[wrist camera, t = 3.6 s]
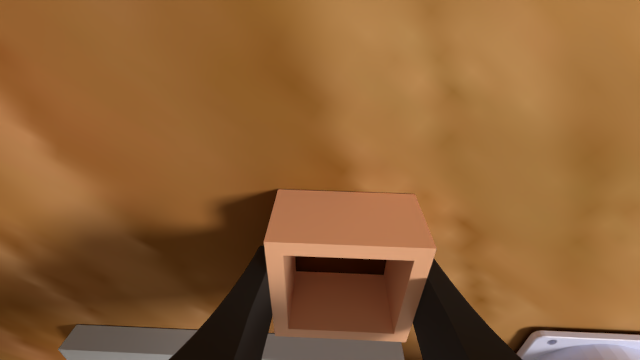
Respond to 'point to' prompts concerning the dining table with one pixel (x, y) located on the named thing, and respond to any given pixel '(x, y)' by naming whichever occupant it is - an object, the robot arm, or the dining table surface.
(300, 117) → the dining table surface
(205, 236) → the dining table surface
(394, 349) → the post board
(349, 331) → the collar
